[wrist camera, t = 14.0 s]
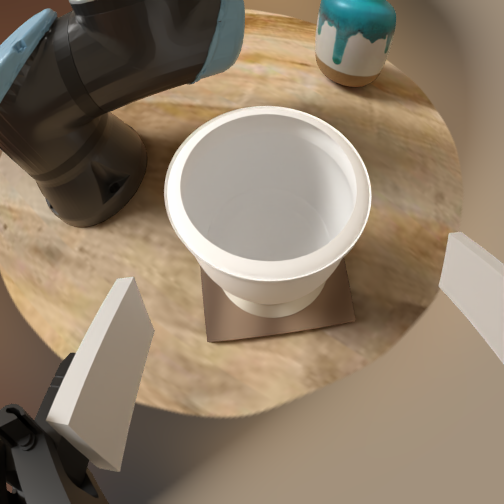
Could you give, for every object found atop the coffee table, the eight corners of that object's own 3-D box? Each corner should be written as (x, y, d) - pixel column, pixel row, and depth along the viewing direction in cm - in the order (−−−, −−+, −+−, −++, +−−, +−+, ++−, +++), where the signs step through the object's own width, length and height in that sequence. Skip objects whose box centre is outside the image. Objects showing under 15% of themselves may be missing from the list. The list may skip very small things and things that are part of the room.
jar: (196, 292, 28) (127, 235, 13) (237, 199, 30) (215, 90, 16) (302, 332, 26) (344, 316, 12) (335, 232, 29) (385, 136, 15)
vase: (389, 86, 38) (422, -10, 19) (347, 106, 36) (376, -11, 18) (342, 53, 41) (357, -39, 22) (297, 69, 39) (303, -38, 21)
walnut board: (209, 342, 27) (207, 342, 26) (199, 210, 32) (196, 205, 31) (352, 321, 27) (355, 320, 26) (325, 194, 32) (327, 188, 30)
